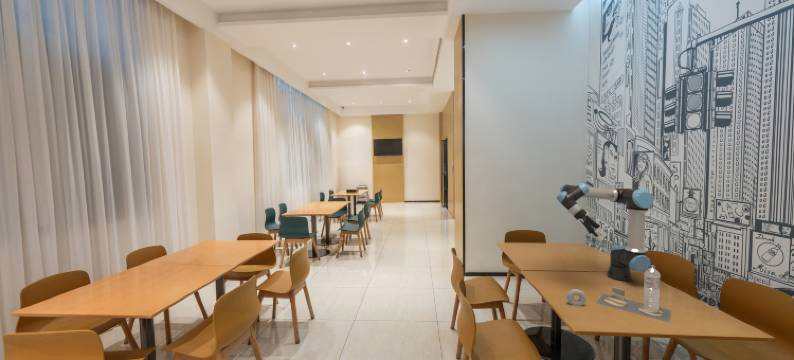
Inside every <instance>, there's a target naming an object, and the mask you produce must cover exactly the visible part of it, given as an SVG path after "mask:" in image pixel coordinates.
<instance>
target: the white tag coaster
mask: <svg viewBox="0 0 794 360" xmlns="http://www.w3.org/2000/svg"><path fill="white" fill-rule="evenodd" d="M625 292H626V291H625V289H624V288H619V287H614V286H612V288H611V296H612V297H613V298H605V299H604V301H605V302H606V303H607V304H610V305H613V306H617V307H626V306H627V303H626V302H625V301H623V300H624V299H625V294H626V293H625ZM616 298H617V299H616ZM620 299H621V300H620Z"/></svg>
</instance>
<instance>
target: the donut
mask: <svg viewBox="0 0 794 360" xmlns="http://www.w3.org/2000/svg"><path fill="white" fill-rule="evenodd" d="M575 296H578V299H577V300H576V299H575V298H574V297H575ZM566 300H567V303H569V304H570V305H572V306H579V307H580V306H584V305H585V304H586V301H587V295H586V294H585V292H584V291H582V290H580V289H577V288H573V289H570V290H569V291H568V292H567V294H566Z"/></svg>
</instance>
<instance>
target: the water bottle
mask: <svg viewBox="0 0 794 360" xmlns="http://www.w3.org/2000/svg"><path fill="white" fill-rule="evenodd" d="M643 272H644V273H643V275H644V281H643V282H644V284H643V299H642V303H643V309H644V310H645V311H647V312H651V313H658V312H659V307H660V305H659V298H661V297H660V293H661V285H660V284H661V276H662V275H661V273H660V272H659V271H658V270H657V269H656V265H653V264H652V265H651V264H650V267H648V269H646V270H645V271H643Z"/></svg>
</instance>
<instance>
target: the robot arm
mask: <svg viewBox="0 0 794 360" xmlns="http://www.w3.org/2000/svg"><path fill="white" fill-rule="evenodd" d="M559 189H560V194H558V195H556V200H557V201H558V202H559V203H560V204H561V205H562V206H563V208H565V209H566V210H567V211H568V213H569V214H571V215H572V216H573V218H575V220H577V221H578V220H579V222H581V224H582V225H583V227H584V228H585V229H586V230H587V232H588V234H590V235H591V234H592V236H594V237H595V239H597V240H598V242H602V241H604V240H605V237H607V236H608V233H607V232H605V231H604V230H603V229H602V228H601V225H600V224H599V223H597V222H596V221H595V220H593V219H592V218H591V217H590V216H589V215H587V211H586V210H585V209H584V208H583V207H582V206H581V205H580V204H579V203H578V202H577V201H578V200H580V199H581V198H588V199H591V198H592V199H598V200H607V201H610V202H612V203H618V204H622V205H625V206H626V210H627V211H628V227H627V228H628V230H627V233H628V234H627V245H619V244H618V245H617V244H616V245H611V246H610V256H609V257H610V259H609V260H610V262H609V267H608V269H607V272H606V276H607V277H608V278H610V279H612V280H615V281H621V282H631V281H634V278H633V277H634V276H633V274H632V271H635V272H638V273H639V272H645V271H646V270H647V269H649V268H650V267H651V259H650V258H649V256H647V250H646V249H645V231H646V230H645V229H646V228H645V227H646V225H645V224H646V213H647V212H649V208H651V207H652V206H653V204H654V197H653V194H651V193H650V192H649V191H647V190H644V189H637V188H618V187H617V188H613V187H612V188H603V187H602V188H601V187H592V186H588V185H587V184H585V183H584V182H580V183H578V184H577V185H573V184H567V183H566V184H562V185H561V186H560V188H559ZM595 229H596V230H595Z"/></svg>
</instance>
